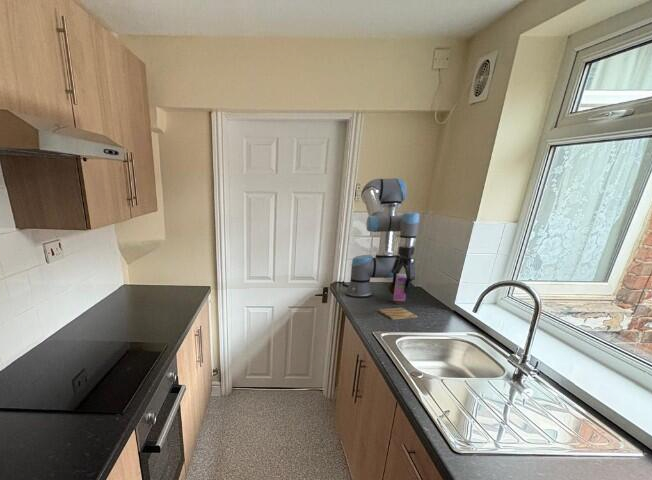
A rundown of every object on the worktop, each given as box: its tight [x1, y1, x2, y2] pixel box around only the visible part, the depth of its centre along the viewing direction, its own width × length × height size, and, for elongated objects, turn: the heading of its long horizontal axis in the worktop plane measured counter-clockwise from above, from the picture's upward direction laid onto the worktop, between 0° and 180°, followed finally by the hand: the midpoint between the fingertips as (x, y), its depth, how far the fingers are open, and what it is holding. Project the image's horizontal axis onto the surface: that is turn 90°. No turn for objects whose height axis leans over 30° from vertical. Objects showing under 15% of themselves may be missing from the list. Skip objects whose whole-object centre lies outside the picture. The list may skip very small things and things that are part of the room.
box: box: [393, 273, 407, 302], centre depth 212 cm, size 10×6×12 cm, turn 163°
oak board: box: [377, 307, 419, 321], centre depth 218 cm, size 16×14×1 cm
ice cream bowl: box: [388, 281, 402, 305], centre depth 235 cm, size 11×11×15 cm
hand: (400, 290), depth 213 cm, fingers closed on box, 12 cm apart
